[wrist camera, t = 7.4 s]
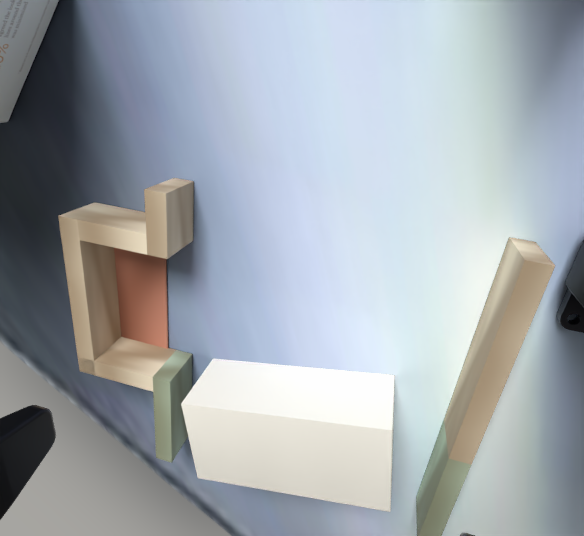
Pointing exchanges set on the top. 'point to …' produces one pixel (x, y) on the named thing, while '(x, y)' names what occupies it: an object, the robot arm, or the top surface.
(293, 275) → the top surface
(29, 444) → the robot arm
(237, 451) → the cream block
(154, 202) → the u-shaped wooden frame
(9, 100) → the small box
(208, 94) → the top surface
